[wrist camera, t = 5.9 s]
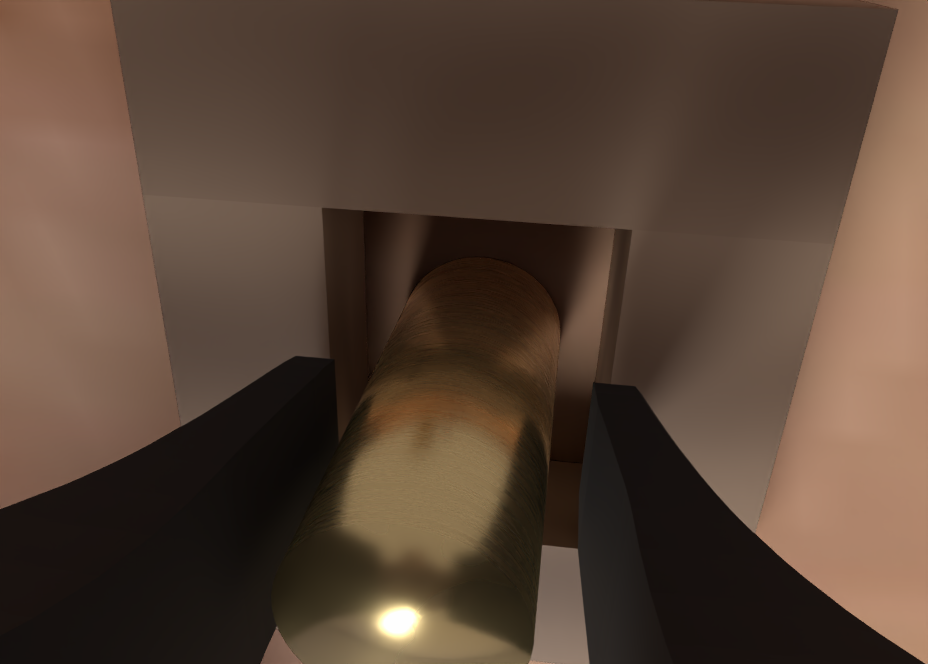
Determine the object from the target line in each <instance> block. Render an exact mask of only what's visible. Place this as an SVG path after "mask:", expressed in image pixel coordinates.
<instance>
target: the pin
mask: <svg viewBox="0 0 928 664" xmlns="http://www.w3.org/2000/svg"><path fill="white" fill-rule="evenodd" d="M559 344H560V322H559V317H558V313H557V310H556V308H555V305H554V303H553V301H552V299H551V297H550V296H549V294H548V293H547V291H546V290H545V289H544V288H543V286H542V285H541V284H540V283H539V282H538V281H537V280H536V279H535V278H533V277H532V276H531V275H529V274H528V273H527V272H525V271H524V270H522V269H520V268H518V267H516V266H514V265H512V264H509V263H507V262H504V261H500V260H497V259H491V258H482V257H472V258H463V259H458V260H454V261H451V262H448V263H445V264H443V265H441V266H439V267H437V268H435V269H434V270H432V271H431V272H430V273H428V274H427V275H426V276H425V277H424V278H423V279H422V280H421V281H420V282H419V283H418V284H417V286H416V287H415V288H414V290H413V292H412V294H411V295H410V297H409V299H408V301H407V304H406V306H405V308H404V310H403V312H402V314H401V316H400V318H399V320H398V322H397V324H396V326H395V328H394V330H393V332H392V335H391V337H390V339H389V341H388V343H387V345H386V347H385V349H384V351H383V353H382V355H381V357H380V359H379V361H378V363H377V366H376V368H375V370H374V372H373V374H372V376H371V378H370V380H369V382H368V384H367V386H366V388H365V390H364V392H363V395H362V397H361V399H360V401H359V403H358V405H357V407H356V409H355V411H354V413H353V415H352V417H351V419H350V421H349V423H348V426H347V428H346V430H345V432H344V434H343V436H342V438H341V440H340V442H339V444H338V446H337V448H336V450H335V452H334V455H333V457H332V459H331V461H330V463H329V465H328V467H327V469H326V471H325V473H324V475H323V477H322V479H321V481H320V483H319V486H318V488H317V490H316V492H315V494H314V496H313V498H312V500H311V502H310V504H309V506H308V508H307V510H306V512H305V514H304V517H303V519H302V521H301V523H300V525H299V527H298V529H297V531H296V533H295V535H294V537H293V539H292V541H291V543H290V546H289V548H288V550H287V552H286V554H285V556H284V558H283V560H282V562H281V564H280V566H279V568H278V570H277V573H276V576H275V578H274V581H273V586H272V592H271V602H272V610H273V615H274V619H275V622H276V624H277V627H278V629H279V631H280V633H281V635H282V637H283V639H284V640H285V642H286V644H287V645H288V646H289V648H290V649H291V650H292V652H293V653H294V654H295V655H296V656H297V657H298V658H299V659H300V661H301V662H302V663H303V664H528V663H529V661H530V658H531V655H532V651H533V646H534V635H535V624H536V612H537V600H538V589H539V577H540V565H541V554H542V542H543V530H544V519H545V507H546V495H547V484H548V472H549V460H550V449H551V437H552V425H553V414H554V402H555V390H556V379H557V367H558V355H559Z"/></svg>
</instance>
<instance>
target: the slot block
mask: <svg viewBox="0 0 928 664" xmlns="http://www.w3.org/2000/svg"><path fill="white" fill-rule="evenodd" d="M110 2H111V8H112V14H113V20H114V26H115V32H116V38H117V44H118V50H119V56H120V62H121V68H122V74H123V80H124V86H125V92H126V98H127V104H128V110H129V116H130V122H131V128H132V134H133V140H134V146H135V152H136V158H137V164H138V170H139V176H140V182H141V188H142V194H143V200H144V206H145V212H146V218H147V224H148V230H149V236H150V242H151V248H152V254H153V260H154V266H155V272H156V278H157V284H158V290H159V296H160V303H161V309H162V315H163V321H164V327H165V333H166V339H167V345H168V351H169V357H170V363H171V369H172V375H173V381H174V387H175V393H176V399H177V405H178V411H179V417H180V423H181V426H183V425H185V424H186V423H188V422H190V421H192V420H193V419H195V418H197V417H199V416H200V415H202V414H204V413H205V412H207V411H209V410H210V409H212V408H213V407H215V406H216V405H218V404H220V403H221V402H223V401H224V400H226V399H227V398H229V397H231V396H232V395H234V394H235V393H237V392H238V391H240V390H242V389H243V388H245V387H246V386H248V385H249V384H251V383H252V382H254V381H255V380H257V379H258V378H260V377H262V376H263V375H265V374H266V373H268V372H269V371H271V370H272V369H274V368H275V367H277V366H279V365H280V364H282V363H284V362H285V361H287V360H289V359H291V358H292V357H294V356H305V357H316V358H327V359H335V377H336V396H337V415H338V435H339V442H340V440H341V438H342V436H343V434H344V432H345V430H346V428H347V426H348V423H349V421H350V419H351V417H352V415H353V413H354V411H355V409H356V407H357V405H358V403H359V401H360V399H361V397H362V395H363V392H364V390H365V388H366V386H367V384H368V354H367V319H366V284H365V250H364V215H363V211H377V212H391V213H405V214H419V215H433V216H447V217H461V218H474V219H488V220H502V221H516V222H530V223H544V224H558V225H572V226H586V227H600V228H614V229H615V234H614V242H613V249H612V257H611V265H610V272H609V280H608V288H607V295H606V303H605V310H604V318H603V326H602V333H601V341H600V348H599V356H598V364H597V371H596V379H595V383H606V384H617V385H628V386H636V387H637V389H638V390H639V391H640V392H641V394H642V395H643V397H644V398H645V400H646V401H647V403H648V404H649V406H650V407H651V409H652V410H653V412H654V413H655V415H656V416H657V418H658V419H659V421H660V422H661V423H662V425H663V426H664V428H665V429H666V430H667V432H668V433H669V435H670V436H671V438H672V439H673V440H674V442H675V443H676V444H677V446H678V447H679V448H680V450H681V451H682V452H683V454H684V455H685V456H686V457H687V459H688V460H689V461H690V462H691V464H692V465H693V466H694V468H695V469H696V470H697V471H698V473H699V474H700V475H701V476H702V478H703V479H704V480H705V481H706V482H707V484H708V485H709V486H710V487H711V488H712V489H713V491H714V492H715V493H716V494H717V495H718V496H719V497H720V498H721V500H722V501H723V502H724V503H725V504H726V505H727V506H728V507H729V508H730V509H731V511H732V512H733V513H734V514H735V515H736V516H737V517H738V518H739V519H740V520H741V521H742V522H743V523H744V524H745V525H746V526H747V527H748V528H749V529H750V530H751V531H753V532H754V533H755V532H756V528H757V525H758V521H759V517H760V514H761V510H762V506H763V503H764V499H765V495H766V492H767V488H768V484H769V481H770V477H771V473H772V470H773V466H774V462H775V459H776V455H777V451H778V448H779V444H780V441H781V437H782V433H783V430H784V426H785V422H786V419H787V415H788V411H789V408H790V404H791V400H792V397H793V393H794V389H795V386H796V382H797V378H798V375H799V371H800V367H801V364H802V360H803V356H804V353H805V349H806V345H807V342H808V338H809V335H810V331H811V327H812V324H813V320H814V316H815V313H816V309H817V305H818V302H819V298H820V294H821V291H822V287H823V283H824V280H825V276H826V272H827V269H828V265H829V261H830V258H831V254H832V250H833V247H834V243H835V239H836V236H837V232H838V229H839V225H840V221H841V218H842V214H843V210H844V207H845V203H846V199H847V196H848V192H849V188H850V185H851V181H852V177H853V174H854V170H855V166H856V163H857V159H858V155H859V152H860V148H861V144H862V141H863V137H864V133H865V130H866V126H867V123H868V119H869V115H870V112H871V108H872V104H873V101H874V97H875V93H876V90H877V86H878V82H879V79H880V75H881V71H882V68H883V64H884V60H885V57H886V53H887V49H888V46H889V42H890V38H891V35H892V31H893V27H894V24H895V20H896V16H897V13H898V9H894V8H889V7H885V6H881V5H877V4H872V3H868V2H864V1H860V0H110ZM582 466H583V464H579V463H569V462H559V461H549V472H548V484H547V495H546V507H545V519H544V530H543V542H542V554H541V565H540V577H539V589H538V600H537V612H536V624H535V635H534V646H533V651H532V655H531V658H530V660H531V661H539V662H547V663H555V664H589V655H588V645H587V635H586V626H585V616H584V607H583V597H582V587H581V577H580V567H579V557H578V518H579V489H580V481H581V474H582ZM276 629H278V627H276ZM278 630H279V629H278Z"/></svg>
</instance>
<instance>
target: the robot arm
mask: <svg viewBox="0 0 928 664" xmlns="http://www.w3.org/2000/svg"><path fill="white" fill-rule="evenodd" d="M338 444H339V435H338V415H337V396H336V377H335V359H327V358H316V357H305V356H294V357H292V358H291V359H289V360H287V361H285V362H284V363H282V364H280V365H279V366H277V367H275V368H274V369H272V370H271V371H269V372H268V373H266V374H265V375H263V376H262V377H260V378H258V379H257V380H255V381H254V382H252V383H251V384H249V385H248V386H246V387H245V388H243V389H242V390H240V391H238V392H237V393H235V394H234V395H232V396H231V397H229V398H227V399H226V400H224V401H223V402H221V403H220V404H218V405H216V406H215V407H213V408H212V409H210V410H209V411H207V412H205V413H204V414H202V415H200V416H199V417H197V418H195V419H193V420H192V421H190V422H188V423H186V424H185V425H183V426H181V427H179V428H178V429H176V430H174V431H172V432H171V433H169V434H167V435H165V436H164V437H162V438H160V439H158V440H157V441H155V442H153V443H151V444H150V445H148V446H146V447H144V448H142V449H140V450H138V451H136V452H134V453H133V454H131V455H128V456H126V457H124V458H122V459H120V460H118V461H116V462H114V463H112V464H110V465H108V466H106V467H103V468H101V469H99V470H97V471H95V472H93V473H90V474H88V475H86V476H84V477H82V478H79V479H77V480H75V481H72V482H70V483H68V484H65V485H63V486H60V487H58V488H55V489H52V490H50V491H47V492H44V493H42V494H39V495H37V496H34V497H31V498H29V499H26V500H24V501H21V502H18V503H16V504H13V505H11V506H8V507H5V508H3V509H0V664H260V663H261V661H262V658H263V656H264V653H265V651H266V649H267V646H268V644H269V642H270V640H271V638H272V635H273V633H274V631H275V629H276V627H277V624H276V622H275V619H274V615H273V610H272V602H271V592H272V586H273V581H274V578H275V576H276V573H277V570H278V568H279V566H280V564H281V562H282V560H283V558H284V556H285V554H286V552H287V550H288V548H289V546H290V543H291V541H292V539H293V537H294V535H295V533H296V531H297V529H298V527H299V525H300V523H301V521H302V519H303V517H304V514H305V512H306V510H307V508H308V506H309V504H310V502H311V500H312V498H313V496H314V494H315V492H316V490H317V488H318V486H319V483H320V481H321V479H322V477H323V475H324V473H325V471H326V469H327V467H328V465H329V463H330V461H331V459H332V457H333V455H334V452H335V450H336V448H337V446H338ZM578 557H579V567H580V577H581V587H582V597H583V607H584V616H585V626H586V635H587V645H588V655H589V664H925V663H923V662H922V661H920V660H919V659H917V658H916V657H914V656H913V655H911V654H909V653H908V652H906V651H905V650H903V649H902V648H900V647H899V646H897V645H896V644H894V643H893V642H891V641H890V640H888V639H887V638H885V637H884V636H882V635H881V634H879V633H878V632H876V631H875V630H873V629H872V628H871V627H869V626H868V625H866V624H865V623H864V622H862V621H861V620H859V619H858V618H857V617H855V616H854V615H852V614H851V613H850V612H848V611H847V610H845V609H844V608H843V607H842V606H840V605H839V604H838V603H836V602H835V601H834V600H833V599H831V598H830V597H829V596H827V595H826V594H825V593H824V592H822V591H821V590H820V589H818V588H817V587H816V586H815V585H813V584H812V583H811V582H809V581H808V580H807V579H806V578H804V577H803V576H802V575H801V574H800V573H798V572H797V571H796V570H795V569H794V568H792V567H791V566H790V565H789V564H788V563H786V562H785V561H784V560H783V559H782V558H781V557H780V556H779V555H777V554H776V553H775V552H774V551H773V550H772V549H771V548H770V547H769V546H768V545H767V544H766V543H764V542H763V541H762V540H761V539H760V538H759V537H758V536H757V535H756V534H755V533H754V532H753V531H751V530H750V529H749V528H748V527H747V526H746V525H745V524H744V523H743V522H742V521H741V520H740V519H739V518H738V517H737V516H736V515H735V514H734V513H733V512H732V511H731V509H730V508H729V507H728V506H727V505H726V504H725V503H724V502H723V501H722V500H721V498H720V497H719V496H718V495H717V494H716V493H715V492H714V491H713V489H712V488H711V487H710V486H709V485H708V484H707V482H706V481H705V480H704V479H703V478H702V476H701V475H700V474H699V473H698V471H697V470H696V469H695V468H694V466H693V465H692V464H691V462H690V461H689V460H688V459H687V457H686V456H685V455H684V454H683V452H682V451H681V450H680V448H679V447H678V446H677V444H676V443H675V442H674V440H673V439H672V438H671V436H670V435H669V433H668V432H667V430H666V429H665V428H664V426H663V425H662V423H661V422H660V421H659V419H658V418H657V416H656V415H655V413H654V412H653V410H652V409H651V407H650V406H649V404H648V403H647V401H646V400H645V398H644V397H643V395H642V394H641V392H640V391H639V390H638V389H637V387H636V386H628V385H617V384H606V383H595V382H593V389H592V397H591V404H590V412H589V420H588V428H587V435H586V443H585V451H584V458H583V466H582V474H581V481H580V489H579V518H578Z"/></svg>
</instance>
